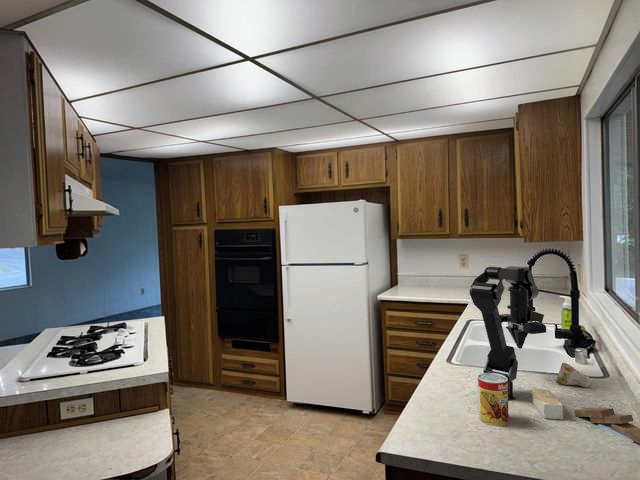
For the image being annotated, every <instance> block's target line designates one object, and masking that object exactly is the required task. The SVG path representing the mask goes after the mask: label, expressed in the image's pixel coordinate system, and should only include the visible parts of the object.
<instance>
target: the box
mask: <svg viewBox="0 0 640 480" xmlns="http://www.w3.org/2000/svg"><path fill="white" fill-rule="evenodd" d="M532 403H533V405H534V406H535V407H536V409H537V411H538V412H539V413H540V414H541V416H542V417H543V419H545V420H564V405H563V404H562V402H561V401H560V400H559V399H558V398H557V396H555V394H554V393H553V392H552V391H551V389H532Z"/></svg>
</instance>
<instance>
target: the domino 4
mask: <svg viewBox="0 0 640 480" xmlns="http://www.w3.org/2000/svg"><path fill="white" fill-rule="evenodd" d="M611 429H612V430H614V431H616V432H618V433H620V434H622V435H624V436H626V437H628V438H630V439H632V440H634V441H636V442H635V443H637V444H640V426H639V427H638V426H636V425H634V424H632V423H631V422H627V423H622V424H617V423H611Z"/></svg>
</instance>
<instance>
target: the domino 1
mask: <svg viewBox="0 0 640 480" xmlns="http://www.w3.org/2000/svg"><path fill="white" fill-rule="evenodd" d="M573 412H574V416H575V417H582V418H583V417H584V418H585V417H586V418H590V417H605V416H611V415H615V414H616V413H615V410H614V408H611V407H610V408H609V407H607V408H606V407H603V408H601V407H584V408H579V409H574V411H573Z"/></svg>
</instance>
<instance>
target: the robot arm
mask: <svg viewBox="0 0 640 480" xmlns="http://www.w3.org/2000/svg"><path fill="white" fill-rule="evenodd" d="M533 275H534V274H533V273H532V270H531V269H530V267H528V266H513V265H509V266H506V267H500V266H488V267H485V269H484V271H483V272H482V273H481V274H479V275H478V276H476V278H474V280H473V281H472V284H471V286H470V287H469V296H470V299H471V301H472V303H473V305H474V306H475V307H476V308H477V309H478V310H479V311H480V313H481V316H482V320H483V324H484V329H485V331H486V332H485V333H486V336H487V339H488V344H489V346H490V347H489V348H490V350H489V352H488V354H487V359H486V361H485V365H484V367H483V373H496V374H501V375H503V376H505V377H507V379H508V401H509V400H515V399H516V396H515V395H514V381H515V380H516V379H517V376H518V374H517V373H518V368H519V367H518V366H519V363H518V360H517V355H516V351H515V348H514V346H511V345H507V340H506V337H505V332H504V328H503V323H507V326H505V329H507V331H508V332H509V334H510V336H511V337H512V339H513V341H514V343H515V345H516V347H517V349H522V348H523V347H524V344H525V341H526V338H527V336H528V334H530V335H536V334H544V333H545V334H546V333H547V325H546V324H544V323H543V319H544V316H545V314H543V313H540V312H537V311H534V310H533V308H532V306H531V305H529V301H531V300H534V299H536V298H537V297H538V295H539V293H540V291H539V288H538V287H537V285H536V281H535V278H534V276H533ZM489 280H496V281H498V283H490V282H489ZM503 280H504V281H505V282H507V283H509V284H510V286H509V287H508V289H507V291H508V292H509V304H508V305H507V306H506V307H507V309H508V310H509V313H504V314H503V313H502V314H500V312H499V304H500V303H501V300H502V295H503V294H504V291H505V286H504V283H503ZM488 282H489V283H488Z"/></svg>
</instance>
